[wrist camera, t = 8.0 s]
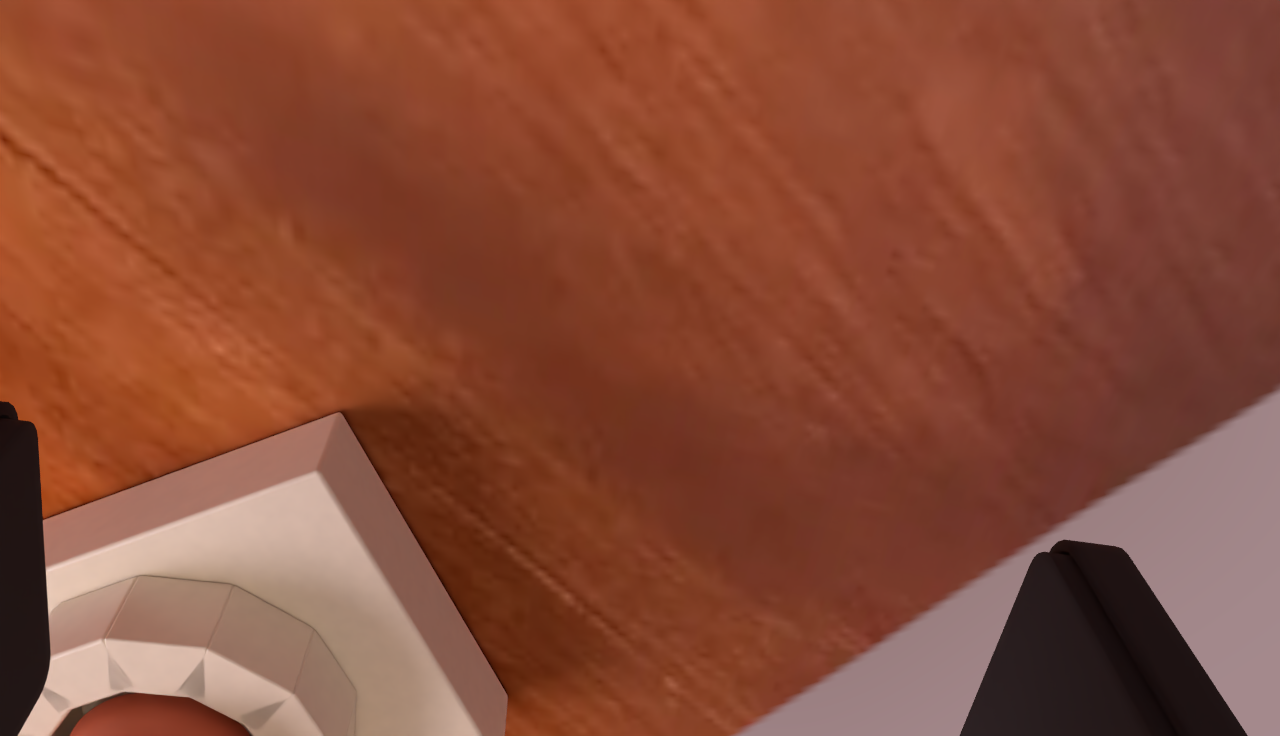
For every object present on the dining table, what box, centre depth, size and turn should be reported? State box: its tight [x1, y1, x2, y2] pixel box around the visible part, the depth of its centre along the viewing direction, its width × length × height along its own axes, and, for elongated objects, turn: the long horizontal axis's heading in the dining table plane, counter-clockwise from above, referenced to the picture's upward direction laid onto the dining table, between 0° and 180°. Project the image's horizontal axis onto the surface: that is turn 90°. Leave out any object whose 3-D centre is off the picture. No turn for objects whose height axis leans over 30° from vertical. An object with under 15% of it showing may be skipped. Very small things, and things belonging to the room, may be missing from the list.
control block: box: [18, 412, 508, 736], centre depth 24 cm, size 10×8×4 cm
